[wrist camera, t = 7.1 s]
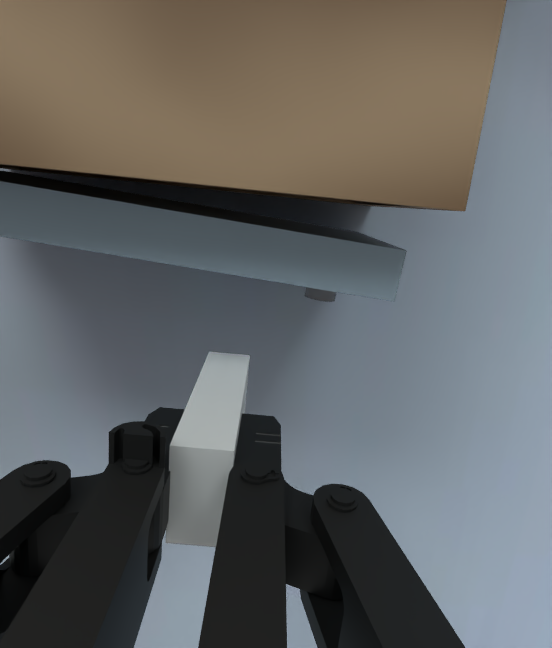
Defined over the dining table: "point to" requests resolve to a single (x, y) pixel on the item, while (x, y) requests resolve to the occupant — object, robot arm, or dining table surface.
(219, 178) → the cabinet
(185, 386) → the dining table surface
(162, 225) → the door
